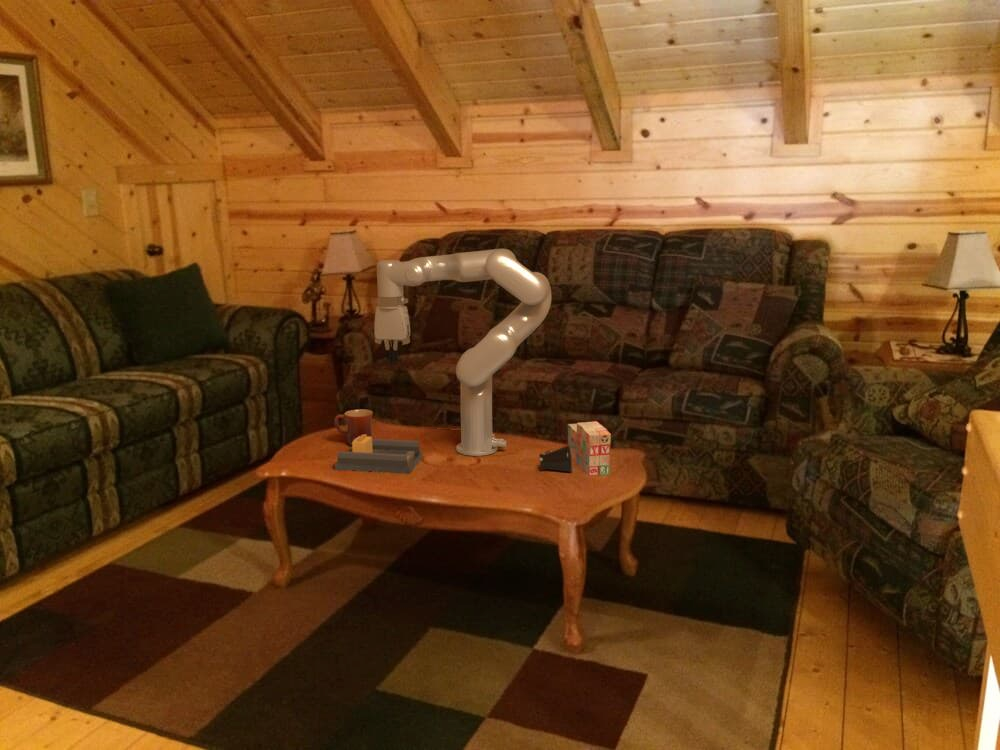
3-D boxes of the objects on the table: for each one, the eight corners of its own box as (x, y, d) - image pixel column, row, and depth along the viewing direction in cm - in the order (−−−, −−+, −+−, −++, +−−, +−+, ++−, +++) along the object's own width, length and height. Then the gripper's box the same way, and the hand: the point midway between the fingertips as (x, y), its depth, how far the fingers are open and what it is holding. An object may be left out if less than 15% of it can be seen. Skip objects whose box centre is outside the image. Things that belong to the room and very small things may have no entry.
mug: (376, 440, 270) (375, 409, 268) (371, 448, 262) (370, 416, 260) (339, 440, 271) (337, 409, 269) (332, 448, 262) (331, 416, 260)
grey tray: (419, 451, 253) (419, 440, 252) (405, 467, 239) (405, 456, 238) (355, 448, 256) (354, 437, 255) (337, 463, 242) (337, 453, 241)
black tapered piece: (572, 474, 237) (541, 478, 238) (574, 462, 254) (546, 465, 256) (568, 448, 236) (538, 451, 237) (571, 437, 254) (542, 440, 255)
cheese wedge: (372, 453, 251) (371, 434, 249) (366, 459, 245) (365, 440, 244) (359, 452, 251) (358, 433, 250) (352, 458, 246) (351, 439, 244)
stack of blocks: (567, 453, 257) (567, 414, 254) (587, 452, 258) (587, 412, 255) (588, 476, 236) (589, 434, 233) (610, 475, 237) (611, 433, 235)
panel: (422, 458, 253) (422, 448, 252) (409, 473, 239) (409, 463, 239) (351, 454, 256) (351, 445, 256) (335, 469, 243) (334, 459, 242)
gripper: (418, 300, 254) (420, 360, 258) (370, 299, 257) (373, 359, 261) (411, 304, 247) (413, 365, 251) (362, 303, 250) (365, 364, 254)
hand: (393, 362), depth 256 cm, fingers closed
